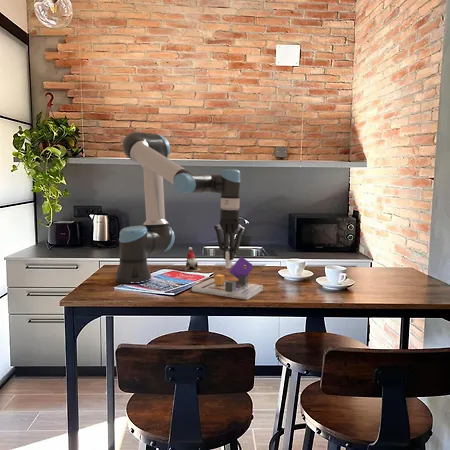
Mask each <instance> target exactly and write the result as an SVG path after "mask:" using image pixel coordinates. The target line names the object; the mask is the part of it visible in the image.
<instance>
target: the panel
mask: <svg viewBox="0 0 450 450" xmlns="http://www.w3.org/2000/svg"><path fill="white" fill-rule="evenodd" d="M237 280H238V281H236V280H226V279H225V284H222V285H217V284H215V278H208V279H206V280H204V281H202V282H199V283H197V284H195V285H193V286H192V287H191V292H193V293H200V294H207V295H208V294H209V295H212V296H220V297H226V298H234V299H238V300H239V299H240V300H247V301H248V300H249V299H251V298H253V297H255V296H256V295H257V294H259V293H261V292H262V291H264V285H261V284H255V283H249V274H248V275H239V277H238V279H237Z"/></svg>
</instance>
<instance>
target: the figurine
mask: <svg viewBox="0 0 450 450" xmlns="http://www.w3.org/2000/svg"><path fill="white" fill-rule="evenodd" d="M185 266H186V269H187V268H188V269H187V270H184V271H186V272H200V271H201V270H202V269H201V268H199V267H198V266H199V261H198V259H197V258H196V256H195V253H194V251H193V247H191V246H189V247H188V253H187V256H186V263H185Z"/></svg>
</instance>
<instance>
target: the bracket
mask: <svg viewBox="0 0 450 450" xmlns="http://www.w3.org/2000/svg"><path fill="white" fill-rule="evenodd" d="M244 266H246V267H247V268H245V267H244ZM252 270H253V264H252V263H251V262H250V261H248V260H247V259H245V258H244V257H243V256H240V257H239V258H238V259H237V261H236V262H235V263H234V265H232V267H231V268H229V270H228V273H230V274H231V275H232V276H233V277H235V278H236V279H237V280H238V277H239V275H248V276H249V274H250V273H251V271H252Z"/></svg>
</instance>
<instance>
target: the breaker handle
mask: <svg viewBox="0 0 450 450" xmlns="http://www.w3.org/2000/svg"><path fill="white" fill-rule="evenodd" d="M225 278H226V277H225V274H220V273H219V274H215V275H214V279H215V284H217V285H222V284H225V280H226V279H225Z"/></svg>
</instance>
